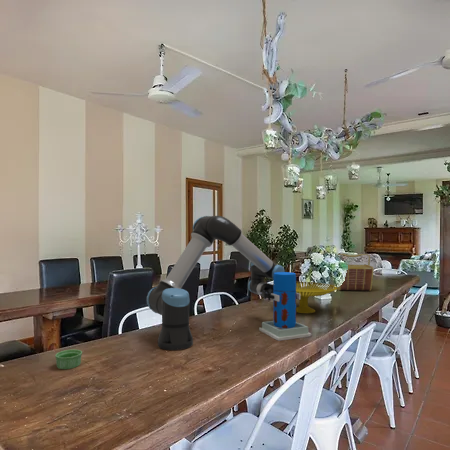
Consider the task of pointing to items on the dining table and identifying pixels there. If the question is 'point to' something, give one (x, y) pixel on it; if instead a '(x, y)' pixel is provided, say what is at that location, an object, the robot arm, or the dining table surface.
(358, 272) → the picnic basket
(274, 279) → the leaf-print tea canister
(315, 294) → the yellow pedestal fruit bowl
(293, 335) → the holder
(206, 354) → the dining table surface
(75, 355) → the ramekin
